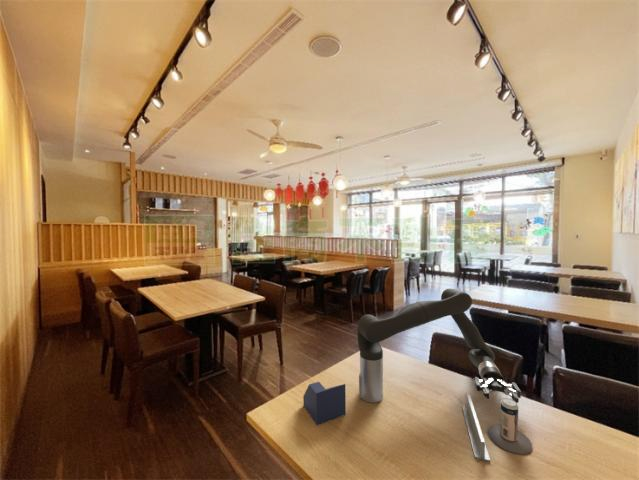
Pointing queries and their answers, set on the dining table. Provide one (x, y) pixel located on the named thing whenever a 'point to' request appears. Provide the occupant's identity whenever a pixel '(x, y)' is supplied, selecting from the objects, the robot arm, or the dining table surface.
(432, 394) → the dining table surface
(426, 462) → the dining table surface
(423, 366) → the dining table surface
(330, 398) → the phone stand
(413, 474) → the dining table surface
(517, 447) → the coaster
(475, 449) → the low wall
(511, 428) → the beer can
